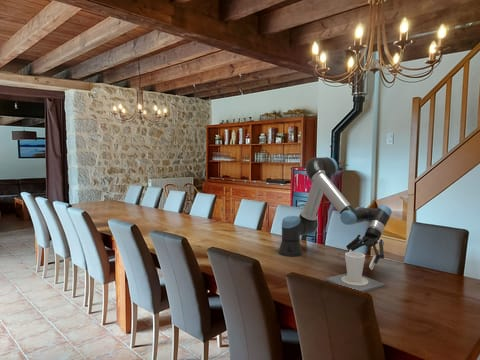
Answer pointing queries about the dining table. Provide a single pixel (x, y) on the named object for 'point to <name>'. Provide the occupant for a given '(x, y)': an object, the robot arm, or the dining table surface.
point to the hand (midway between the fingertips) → (358, 264)
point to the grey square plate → (362, 286)
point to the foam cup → (354, 265)
